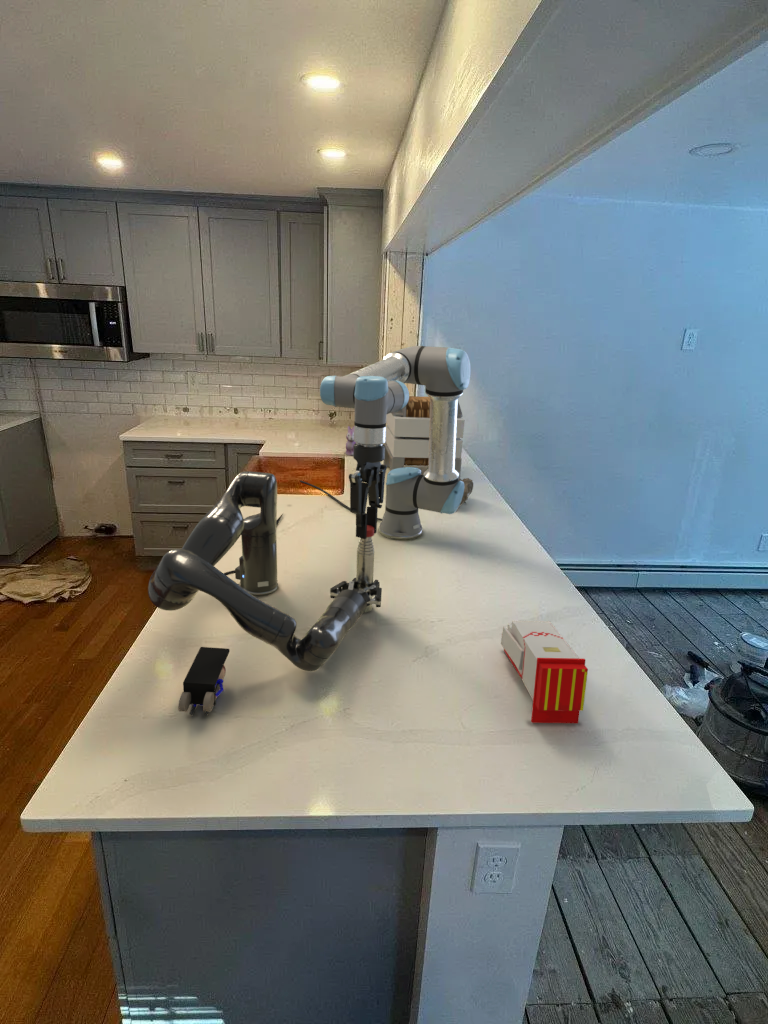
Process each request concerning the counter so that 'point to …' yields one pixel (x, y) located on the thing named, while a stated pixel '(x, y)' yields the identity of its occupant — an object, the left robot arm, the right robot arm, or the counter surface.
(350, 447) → the figurine
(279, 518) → the feather
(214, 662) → the black wheeled cart
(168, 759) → the counter surface
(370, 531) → the cap
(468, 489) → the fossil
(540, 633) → the toy
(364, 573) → the bottle
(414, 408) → the white slatted crate
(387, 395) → the right robot arm
